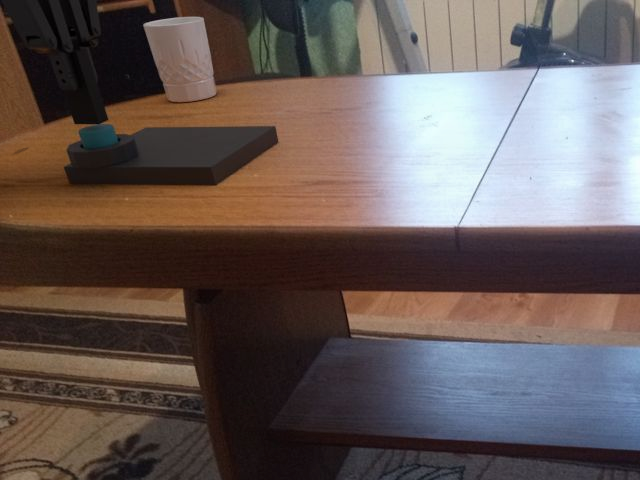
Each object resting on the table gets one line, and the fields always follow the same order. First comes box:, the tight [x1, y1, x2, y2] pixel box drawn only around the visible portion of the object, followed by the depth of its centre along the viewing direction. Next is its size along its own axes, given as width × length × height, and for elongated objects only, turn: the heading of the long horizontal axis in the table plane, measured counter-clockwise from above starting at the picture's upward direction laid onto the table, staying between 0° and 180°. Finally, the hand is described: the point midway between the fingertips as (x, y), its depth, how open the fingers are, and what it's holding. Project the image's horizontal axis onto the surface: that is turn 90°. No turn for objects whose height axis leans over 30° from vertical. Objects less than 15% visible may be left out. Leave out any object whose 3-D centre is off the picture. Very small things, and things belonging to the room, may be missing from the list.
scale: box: [63, 125, 279, 186], centre depth 75 cm, size 16×15×4 cm
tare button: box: [77, 123, 118, 148], centre depth 72 cm, size 3×3×2 cm
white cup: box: [142, 16, 218, 103], centre depth 102 cm, size 8×8×10 cm
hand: (91, 121), depth 71 cm, fingers closed
